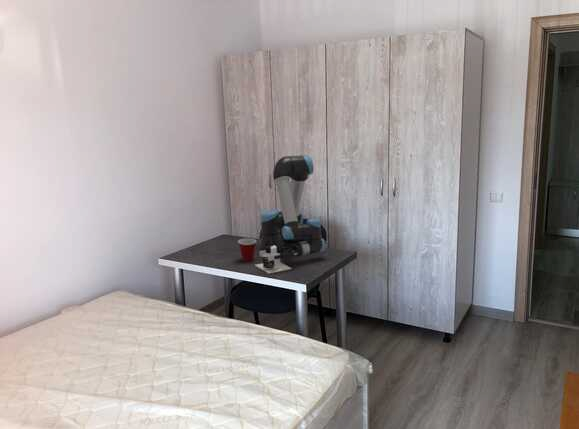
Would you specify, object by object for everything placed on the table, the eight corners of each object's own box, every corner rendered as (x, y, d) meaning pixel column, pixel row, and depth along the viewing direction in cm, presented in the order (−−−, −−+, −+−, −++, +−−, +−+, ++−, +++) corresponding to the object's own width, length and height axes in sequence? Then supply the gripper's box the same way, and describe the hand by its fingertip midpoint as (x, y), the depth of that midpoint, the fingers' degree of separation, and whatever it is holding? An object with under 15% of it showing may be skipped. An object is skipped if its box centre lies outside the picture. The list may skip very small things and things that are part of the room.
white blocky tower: (263, 268, 258) (261, 247, 256) (269, 264, 265) (268, 243, 262) (274, 269, 255) (273, 248, 253) (280, 265, 261) (279, 244, 259)
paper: (254, 265, 268) (254, 264, 268) (276, 260, 275) (276, 260, 275) (268, 273, 253) (268, 273, 253) (291, 268, 259) (291, 268, 259)
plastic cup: (248, 264, 271) (247, 244, 268) (235, 261, 278) (233, 241, 275) (261, 259, 279) (260, 239, 276) (248, 256, 286) (247, 237, 283)
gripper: (310, 260, 258) (273, 268, 248) (290, 251, 277) (255, 258, 267) (309, 247, 256) (272, 254, 246) (290, 238, 276) (255, 245, 265)
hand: (264, 256), depth 256 cm, fingers closed on white blocky tower, 10 cm apart
